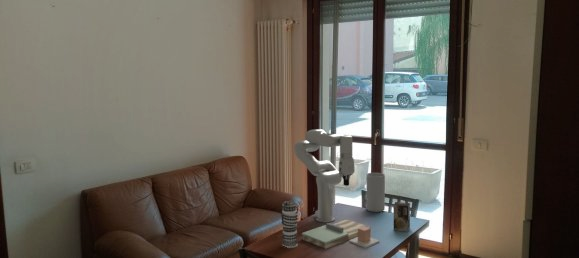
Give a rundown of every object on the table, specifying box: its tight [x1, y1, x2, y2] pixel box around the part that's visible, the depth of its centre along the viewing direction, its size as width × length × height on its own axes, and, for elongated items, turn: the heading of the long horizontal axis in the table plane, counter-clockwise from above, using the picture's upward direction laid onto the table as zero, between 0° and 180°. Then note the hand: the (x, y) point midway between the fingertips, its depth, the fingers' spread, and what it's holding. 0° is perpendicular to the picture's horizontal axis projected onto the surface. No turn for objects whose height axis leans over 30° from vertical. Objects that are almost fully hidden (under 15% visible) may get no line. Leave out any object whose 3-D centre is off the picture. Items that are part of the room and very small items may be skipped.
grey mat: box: [348, 236, 380, 249], centre depth 237 cm, size 12×12×1 cm
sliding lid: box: [301, 222, 349, 244], centre depth 242 cm, size 19×19×4 cm
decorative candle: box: [280, 200, 299, 249], centre depth 234 cm, size 9×9×25 cm
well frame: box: [301, 219, 371, 250], centre depth 249 cm, size 19×39×2 cm, turn 131°
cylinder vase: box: [365, 172, 386, 213], centre depth 294 cm, size 12×12×25 cm
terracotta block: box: [357, 226, 371, 243], centre depth 237 cm, size 5×5×7 cm
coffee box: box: [392, 201, 411, 233], centre depth 255 cm, size 9×6×16 cm
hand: (346, 185), depth 257 cm, fingers closed
